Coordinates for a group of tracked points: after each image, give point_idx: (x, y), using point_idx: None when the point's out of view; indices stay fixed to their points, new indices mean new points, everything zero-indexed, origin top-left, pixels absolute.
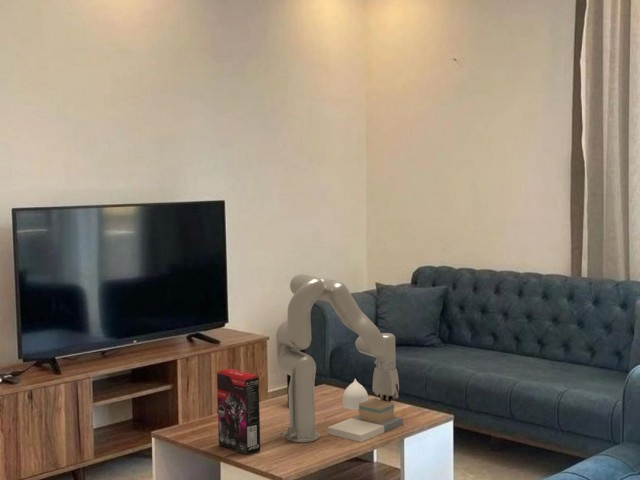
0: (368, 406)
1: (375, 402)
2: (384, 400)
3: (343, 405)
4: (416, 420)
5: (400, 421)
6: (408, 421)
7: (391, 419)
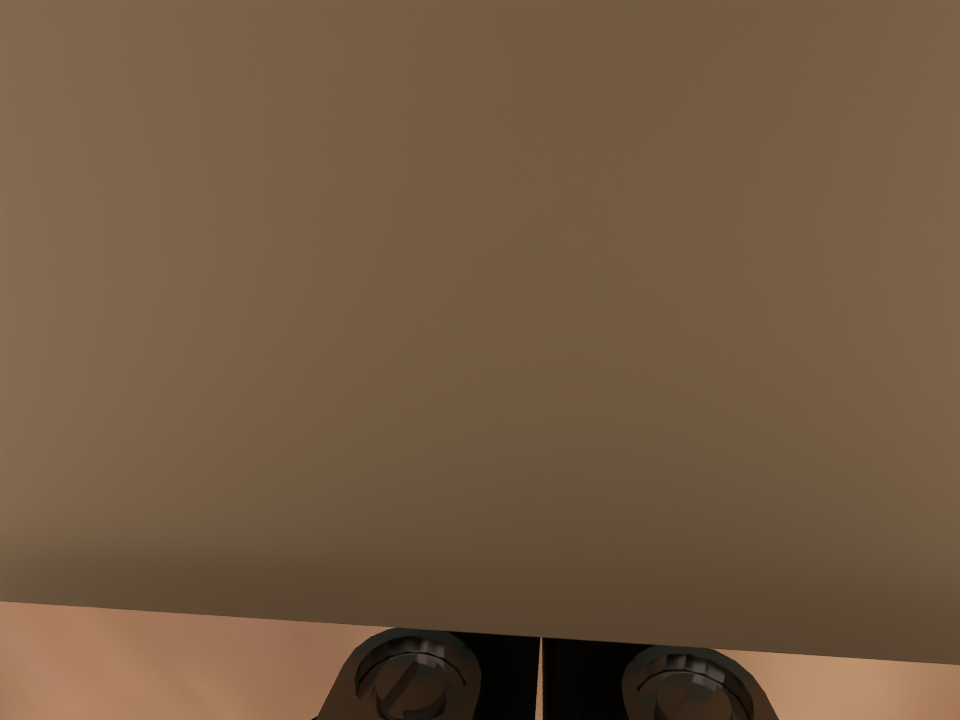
0: None
1: (735, 99)
2: (588, 716)
3: None
4: (137, 646)
5: None
6: None
7: None
